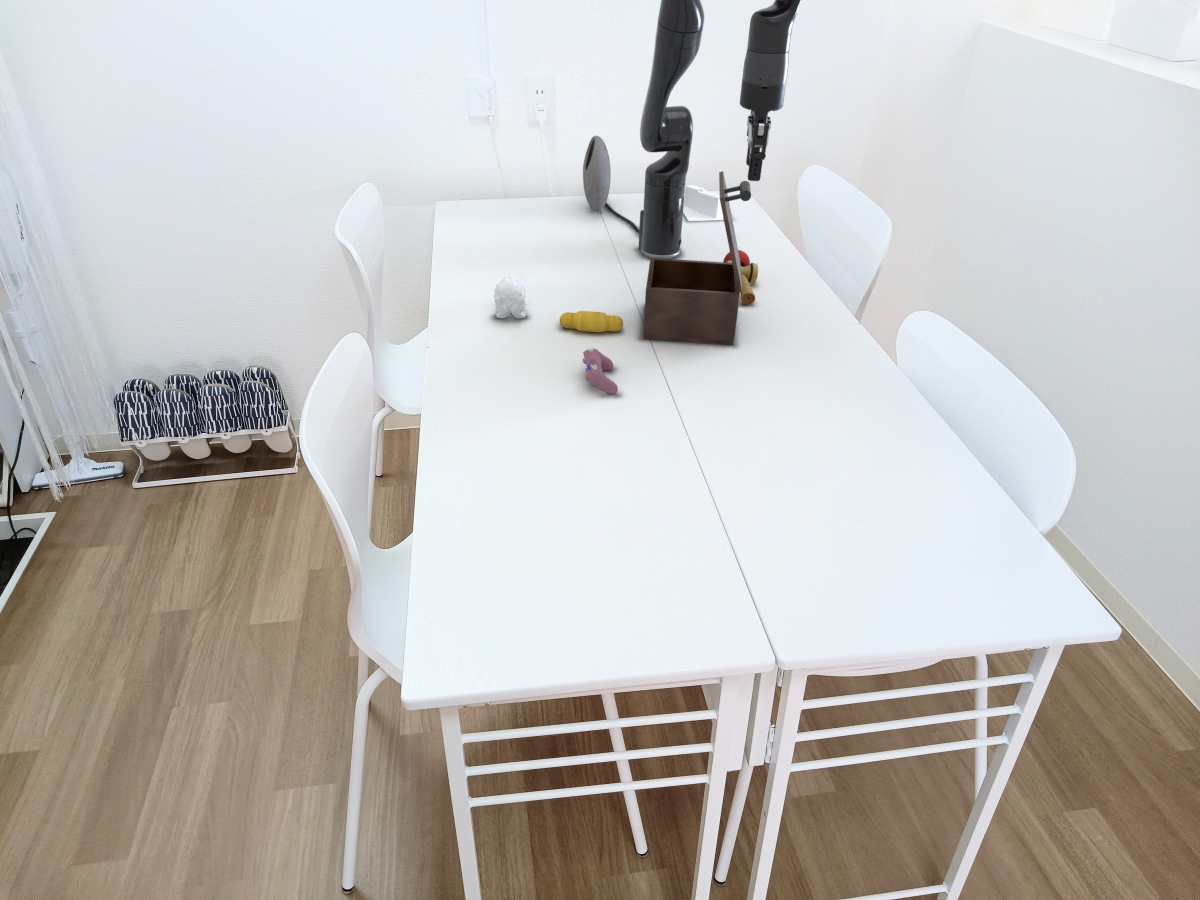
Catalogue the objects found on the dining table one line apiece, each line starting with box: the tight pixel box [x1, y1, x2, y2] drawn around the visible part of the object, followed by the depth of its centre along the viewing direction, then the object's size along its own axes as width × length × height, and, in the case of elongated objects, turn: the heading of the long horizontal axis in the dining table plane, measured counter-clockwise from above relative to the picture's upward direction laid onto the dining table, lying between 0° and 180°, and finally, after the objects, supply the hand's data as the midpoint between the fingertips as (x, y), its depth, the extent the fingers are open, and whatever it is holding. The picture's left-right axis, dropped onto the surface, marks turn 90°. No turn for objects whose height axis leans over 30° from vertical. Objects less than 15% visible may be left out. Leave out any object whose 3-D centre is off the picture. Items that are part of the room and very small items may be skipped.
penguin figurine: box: [493, 276, 527, 319], centre depth 178 cm, size 6×8×12 cm
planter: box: [582, 135, 612, 213], centre depth 224 cm, size 18×7×19 cm, turn 3°
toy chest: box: [642, 258, 741, 346], centre depth 174 cm, size 18×15×11 cm
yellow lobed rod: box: [559, 310, 624, 333], centre depth 173 cm, size 13×4×4 cm, turn 84°
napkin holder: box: [683, 184, 724, 222], centre depth 229 cm, size 15×11×6 cm
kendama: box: [722, 249, 759, 306], centre depth 191 cm, size 8×6×18 cm
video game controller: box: [582, 347, 619, 395], centre depth 156 cm, size 10×5×7 cm, turn 5°
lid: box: [718, 170, 752, 293], centre depth 164 cm, size 19×15×5 cm
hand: (752, 172), depth 158 cm, fingers open, 8 cm apart
